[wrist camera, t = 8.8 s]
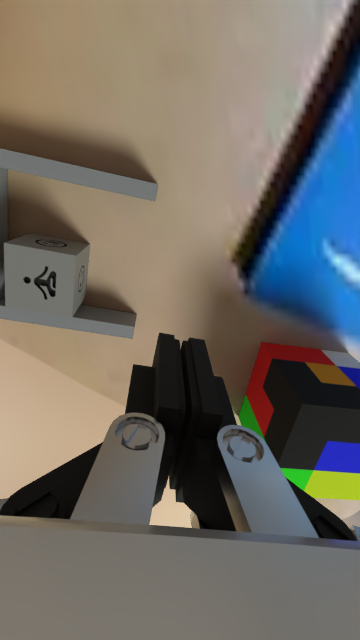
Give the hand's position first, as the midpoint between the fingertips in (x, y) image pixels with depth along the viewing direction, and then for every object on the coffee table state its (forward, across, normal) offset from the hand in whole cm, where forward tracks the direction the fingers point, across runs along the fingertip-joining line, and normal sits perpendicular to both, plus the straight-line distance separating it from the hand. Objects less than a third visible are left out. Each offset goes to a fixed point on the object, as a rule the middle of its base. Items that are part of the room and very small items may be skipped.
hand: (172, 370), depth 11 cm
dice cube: (+18, +9, +3) cm, 21 cm away
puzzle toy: (+18, -17, +12) cm, 27 cm away
